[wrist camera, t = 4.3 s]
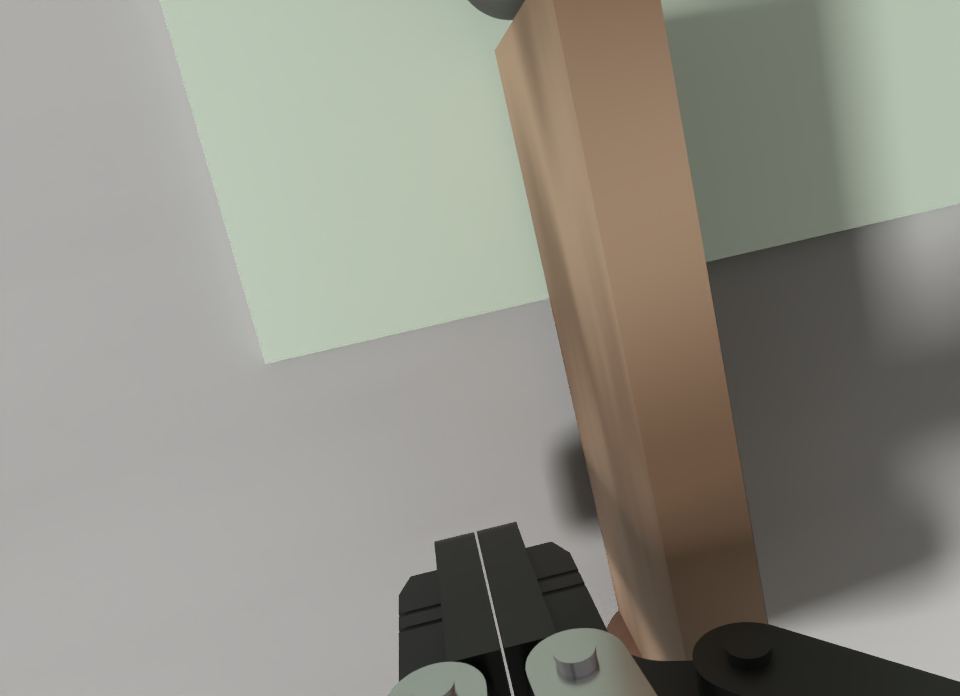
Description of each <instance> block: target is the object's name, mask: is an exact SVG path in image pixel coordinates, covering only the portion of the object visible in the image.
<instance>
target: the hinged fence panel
mask: <svg viewBox="0 0 960 696" xmlns="http://www.w3.org/2000/svg"><path fill="white" fill-rule="evenodd" d="M468 1H469V2H470V3H471V4H472V5H473V6H474V7H475V8H477V9H478V10H479V11H481V12H483V13H484V14H486V15H488V16H491V17H493V18H497V19H501V20H513V21H512V23H511V24H510V26H509V28H508V29H507V31H506V33H505V34H504V36H503V38H502V39H501V41H500V42H499V44H498V46H497V47H496V49H495V55H496V59H497V64H498V68H499V73H500V77H501V82H502V86H503V91H504V95H505V100H506V104H507V109H508V113H509V118H510V122H511V127H512V131H513V136H514V140H515V145H516V150H517V154H518V159H519V163H520V168H521V172H522V177H523V181H524V186H525V190H526V195H527V199H528V204H529V208H530V213H531V217H532V222H533V226H534V231H535V235H536V240H537V244H538V249H539V253H540V258H541V262H542V267H543V271H544V276H545V280H546V285H547V289H548V294H549V298H550V303H551V307H552V312H553V316H554V321H555V325H556V330H557V334H558V339H559V343H560V348H561V352H562V357H563V361H564V366H565V370H566V375H567V379H568V384H569V388H570V393H571V397H572V402H573V406H574V411H575V415H576V420H577V424H578V429H579V433H580V438H581V442H582V447H583V451H584V456H585V460H586V465H587V469H588V474H589V478H590V483H591V487H592V492H593V496H594V501H595V505H596V510H597V514H598V519H599V523H600V528H601V532H602V537H603V541H604V546H605V550H606V555H607V559H608V564H609V568H610V573H611V578H612V582H613V587H614V591H615V596H616V600H617V605H618V609H619V611H618V612H617V613H616V614H615V615H614V616H613V618H612V619H611V621H610V623H609V624H608V627H607V631H608V632H609V633H611V634H613V635H614V636H616V637H617V638H619V639H620V640H621V641H622V642H623V644H624V645H625V646H626V648H627V649H628V651H629V652H630V654H632V655H634V656H637V657H640V658H644V659H649V660H657V661H688V660H693V658H692V654H693V649H694V646H695V644H696V643H697V641H698V640H699V639H700V638H701V637H702V636H703V635H704V634H706V633H707V632H709V631H710V630H712V629H715V628H717V627H719V626H723V625H726V624H731V623H737V622H757V623H764V624H768V620H767V615H766V609H765V603H764V597H763V591H762V586H761V580H760V574H759V568H758V562H757V557H756V551H755V545H754V539H753V533H752V527H751V522H750V516H749V510H748V504H747V498H746V493H745V487H744V481H743V475H742V469H741V464H740V458H739V452H738V446H737V440H736V434H735V429H734V423H733V417H732V411H731V405H730V400H729V394H728V388H727V382H726V376H725V370H724V365H723V359H722V353H721V347H720V341H719V336H718V330H717V324H716V318H715V312H714V307H713V301H712V295H711V289H710V283H709V277H708V272H707V266H706V260H705V254H704V248H703V243H702V237H701V231H700V225H699V219H698V214H697V208H696V202H695V196H694V190H693V184H692V179H691V173H690V167H689V161H688V155H687V150H686V144H685V138H684V132H683V126H682V120H681V115H680V109H679V103H678V97H677V91H676V86H675V80H674V74H673V68H672V62H671V57H670V51H669V45H668V39H667V33H666V27H665V22H664V16H663V10H662V4H661V0H468Z"/></svg>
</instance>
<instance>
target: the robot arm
mask: <svg viewBox="0 0 960 696" xmlns="http://www.w3.org/2000/svg"><path fill="white" fill-rule="evenodd" d="M477 535H478V539H479V543H480V548H481V552H482V557H483V561H484V565H485V570H486V574H487V579H488V583H489V587H490V592H491V596H492V600H493V605H494V609H495V614H496V618H497V622H498V627H499V631H500V635H501V640H502V644H503V648H504V653H505V657H506V661H507V665H508V670H509V674H510V678H511V683H512V687H513V691H514V695H515V696H960V682H958V681H955V680H952V679H948V678H945V677H942V676H939V675H935V674H932V673H929V672H925V671H922V670H919V669H915V668H912V667H909V666H905V665H902V664H899V663H895V662H892V661H889V660H885V659H882V658H879V657H875V656H872V655H869V654H866V653H862V652H859V651H856V650H852V649H849V648H846V647H842V646H839V645H836V644H832V643H829V642H826V641H822V640H819V639H816V638H812V637H809V636H806V635H802V634H799V633H796V632H792V631H789V630H786V629H783V628H779V627H776V626H772V625H768V624H764V623H757V622H737V623H731V624H726V625H723V626H719V627H717V628H715V629H712V630H710V631H709V632H707V633H706V634H704V635H703V636H702V637H701V638H700V639H699V640H698V641H697V643H696V644H695V646H694V649H693V654H692V658H693V660H688V661H657V660H649V659H644V658H640V657H637V656H634V655H632V654H630V652H629V651H628V649H627V648H626V646H625V645H624V644H623V642H622V641H621V640H620V639H619V638H617V637H616V636H614V635H613V634H611V633H609V632H608V631H607V629H606V627H605V625H604V623H603V621H602V619H601V617H600V615H599V613H598V610H597V608H596V606H595V604H594V602H593V600H592V598H591V596H590V594H589V592H588V590H587V588H586V586H585V584H584V581H583V579H582V577H581V575H580V573H579V572H578V569H577V567H576V565H575V563H574V560H573V558H572V556H571V554H570V553H569V552H568V551H566V550H564V549H563V548H561V547H559V546H558V545H556V544H555V543H553V542H548V543H544V544H540V545H536V546H532V547H528V548H525V545H524V542H523V540H522V537H521V534H520V531H519V529H518V526H517V523H516V522H513V523H509V524H505V525H501V526H497V527H493V528H488V529H484V530H480V531H477ZM435 553H436V563H437V570H435V571H431V572H427V573H423V574H419V575H415V576H411V577H410V578H409V580H408V582H407V583H406V585H405V586H404V588H403V590H402V591H401V593H400V594H399V632H400V633H399V682H398V683H397V684H396V685H395V687H394V688H393V689H392V690H391V692H390V693H389V695H388V696H511V693H510V688H509V684H508V679H507V675H506V671H505V666H504V662H503V657H502V653H501V648H500V644H499V640H498V635H497V631H496V626H495V622H494V618H493V613H492V609H491V604H490V600H489V596H488V591H487V587H486V583H485V578H484V574H483V570H482V565H481V561H480V556H479V552H478V548H477V543H476V539H475V535H474V532H473V533H468V534H464V535H460V536H456V537H452V538H448V539H444V540H440V541H436V542H435Z"/></svg>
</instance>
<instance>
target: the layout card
mask: <svg viewBox="0 0 960 696" xmlns="http://www.w3.org/2000/svg"><path fill="white" fill-rule="evenodd" d="M160 4H161V7H162V10H163V14H164V17H165V21H166V24H167V28H168V31H169V35H170V38H171V41H172V45H173V48H174V52H175V55H176V59H177V62H178V66H179V69H180V72H181V76H182V79H183V83H184V86H185V90H186V93H187V97H188V100H189V104H190V107H191V110H192V114H193V117H194V121H195V124H196V128H197V131H198V135H199V138H200V141H201V145H202V148H203V152H204V155H205V159H206V162H207V166H208V169H209V172H210V176H211V179H212V183H213V186H214V190H215V193H216V197H217V200H218V203H219V207H220V210H221V214H222V217H223V221H224V224H225V228H226V231H227V234H228V238H229V241H230V245H231V248H232V252H233V255H234V259H235V262H236V265H237V269H238V272H239V276H240V279H241V283H242V286H243V290H244V293H245V297H246V300H247V303H248V307H249V310H250V314H251V317H252V321H253V324H254V328H255V331H256V334H257V338H258V341H259V345H260V348H261V352H262V355H263V359H264V362H265V364H268V363H272V362H277V361H281V360H285V359H290V358H294V357H298V356H303V355H307V354H311V353H316V352H320V351H324V350H329V349H333V348H337V347H342V346H346V345H350V344H355V343H359V342H363V341H368V340H372V339H376V338H381V337H385V336H389V335H394V334H398V333H402V332H407V331H411V330H415V329H420V328H424V327H428V326H433V325H437V324H441V323H446V322H450V321H454V320H459V319H463V318H467V317H472V316H476V315H480V314H484V313H489V312H493V311H497V310H502V309H506V308H510V307H515V306H519V305H523V304H528V303H532V302H536V301H541V300H545V299H549V294H548V289H547V285H546V280H545V276H544V271H543V267H542V262H541V258H540V253H539V249H538V244H537V240H536V235H535V231H534V226H533V222H532V217H531V213H530V208H529V204H528V199H527V195H526V190H525V186H524V181H523V177H522V172H521V168H520V163H519V159H518V154H517V150H516V145H515V140H514V136H513V131H512V127H511V122H510V118H509V113H508V109H507V104H506V100H505V95H504V91H503V86H502V82H501V77H500V73H499V68H498V64H497V59H496V55H495V49H496V47H497V46H498V44H499V42H500V41H501V39H502V38H503V36H504V34H505V33H506V31H507V29H508V28H509V26H510V24H511V23H512V21H513V20H501V19H497V18H493V17H491V16H488V15H486V14H484V13H483V12H481V11H479V10H478V9H477V8H475V7H474V6H473V5H472V4H471V3H470V2H469V1H468V0H160ZM661 4H662V10H663V16H664V22H665V27H666V33H667V39H668V45H669V51H670V57H671V62H672V68H673V74H674V80H675V86H676V91H677V97H678V103H679V109H680V115H681V120H682V126H683V132H684V138H685V144H686V150H687V155H688V161H689V167H690V173H691V179H692V184H693V190H694V196H695V202H696V208H697V214H698V219H699V225H700V231H701V237H702V243H703V248H704V254H705V260H706V262H710V261H714V260H718V259H723V258H727V257H731V256H736V255H740V254H744V253H748V252H753V251H757V250H761V249H766V248H770V247H774V246H779V245H783V244H787V243H792V242H796V241H800V240H805V239H809V238H813V237H818V236H822V235H826V234H831V233H835V232H839V231H844V230H848V229H852V228H857V227H861V226H865V225H870V224H874V223H878V222H883V221H887V220H891V219H896V218H900V217H904V216H909V215H913V214H917V213H922V212H926V211H930V210H935V209H939V208H943V207H948V206H952V205H956V204H960V0H661Z"/></svg>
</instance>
